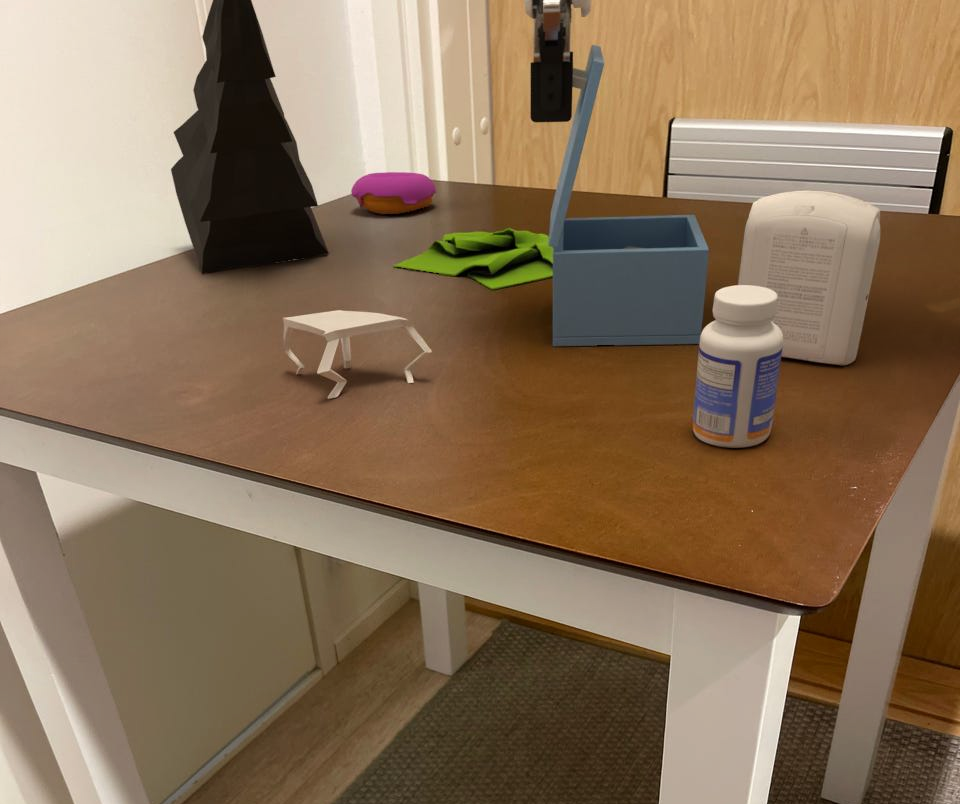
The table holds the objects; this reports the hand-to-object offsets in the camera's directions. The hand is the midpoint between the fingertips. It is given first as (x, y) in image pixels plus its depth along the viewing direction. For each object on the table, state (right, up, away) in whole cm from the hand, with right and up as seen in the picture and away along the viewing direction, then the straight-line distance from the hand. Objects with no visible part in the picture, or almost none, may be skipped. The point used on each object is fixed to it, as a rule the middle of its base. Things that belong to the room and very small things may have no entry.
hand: (551, 112), depth 78 cm
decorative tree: (-30, -1, +31) cm, 43 cm away
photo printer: (+20, -19, +2) cm, 28 cm away
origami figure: (-16, -22, +1) cm, 27 cm away
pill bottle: (+12, -28, -10) cm, 32 cm away
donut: (-17, +14, +50) cm, 55 cm away
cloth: (-4, -1, +28) cm, 29 cm away
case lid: (+2, -2, +1) cm, 3 cm away
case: (+7, -14, +10) cm, 18 cm away
